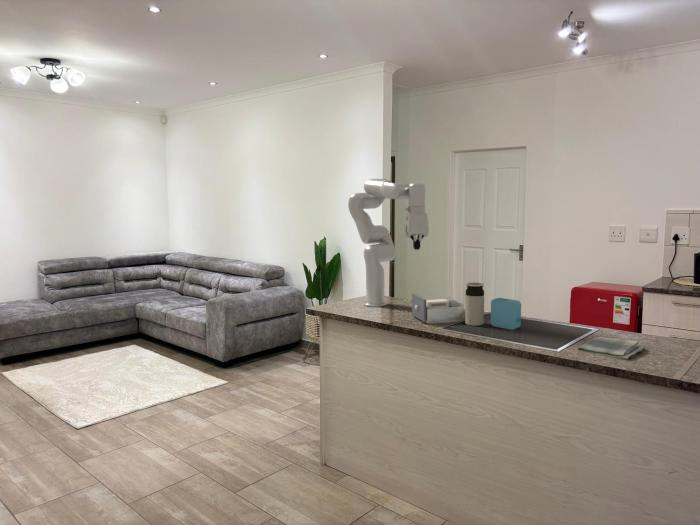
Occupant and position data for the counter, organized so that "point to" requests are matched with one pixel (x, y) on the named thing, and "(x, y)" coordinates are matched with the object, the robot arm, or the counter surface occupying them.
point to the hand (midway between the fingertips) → (416, 249)
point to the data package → (506, 313)
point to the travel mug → (474, 304)
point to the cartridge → (437, 304)
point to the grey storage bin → (446, 313)
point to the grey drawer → (419, 307)
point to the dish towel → (612, 347)
